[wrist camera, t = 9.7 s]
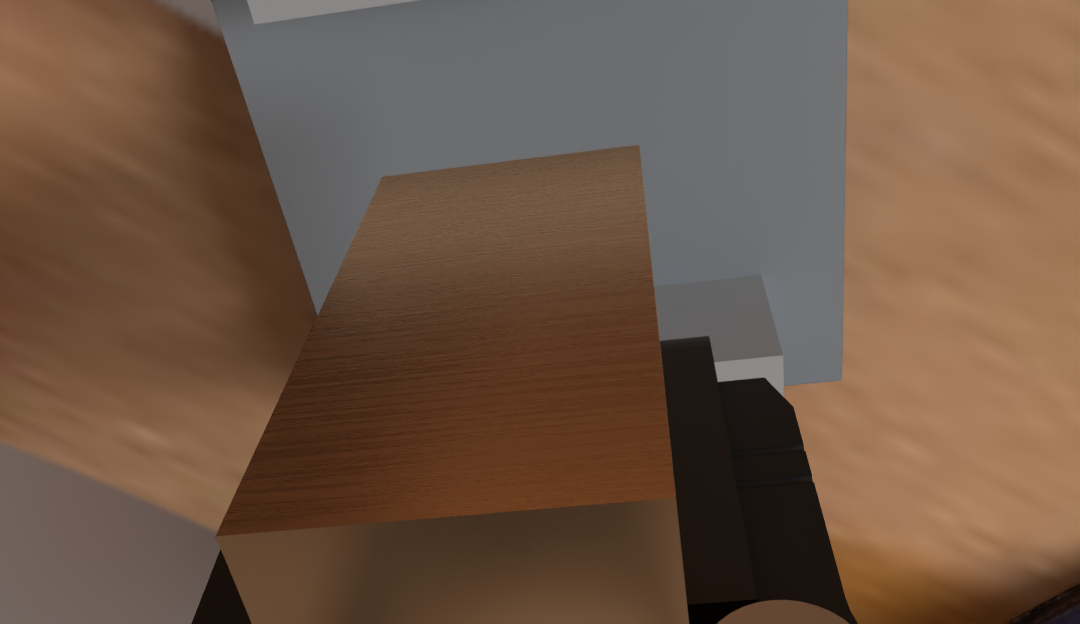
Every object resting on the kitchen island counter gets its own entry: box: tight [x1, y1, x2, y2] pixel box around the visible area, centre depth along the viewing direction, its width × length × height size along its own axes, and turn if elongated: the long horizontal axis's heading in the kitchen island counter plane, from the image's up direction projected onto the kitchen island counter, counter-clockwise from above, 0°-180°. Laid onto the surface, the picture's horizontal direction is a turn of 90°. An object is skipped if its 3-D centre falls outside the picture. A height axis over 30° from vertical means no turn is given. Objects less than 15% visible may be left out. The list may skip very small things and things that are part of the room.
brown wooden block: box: [216, 145, 689, 624], centre depth 10 cm, size 5×3×6 cm, turn 9°
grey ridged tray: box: [211, 0, 848, 397], centre depth 17 cm, size 12×10×4 cm
